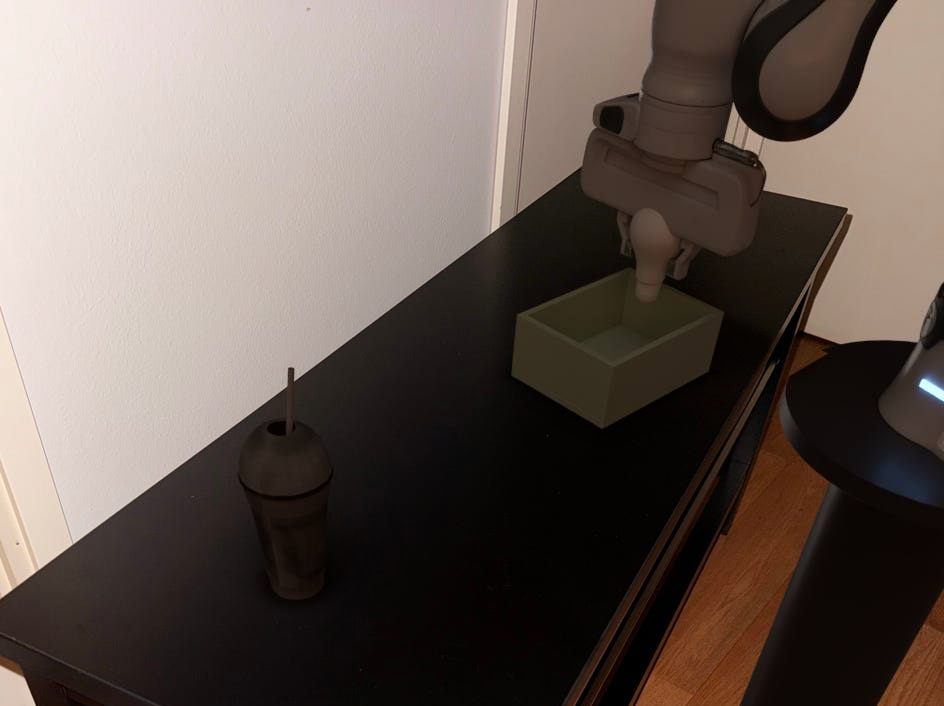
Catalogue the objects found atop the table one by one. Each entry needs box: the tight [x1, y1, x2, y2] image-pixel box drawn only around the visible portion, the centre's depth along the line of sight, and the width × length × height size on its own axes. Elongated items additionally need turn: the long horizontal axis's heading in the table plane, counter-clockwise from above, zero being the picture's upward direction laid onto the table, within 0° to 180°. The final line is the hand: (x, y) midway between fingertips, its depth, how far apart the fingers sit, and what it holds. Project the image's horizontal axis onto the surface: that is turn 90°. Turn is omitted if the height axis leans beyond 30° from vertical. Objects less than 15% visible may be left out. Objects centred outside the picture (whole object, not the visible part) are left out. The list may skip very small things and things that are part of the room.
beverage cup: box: [237, 366, 334, 601], centre depth 73 cm, size 7×7×20 cm
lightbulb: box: [630, 208, 683, 303], centre depth 100 cm, size 6×6×11 cm
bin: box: [511, 267, 725, 430], centre depth 104 cm, size 19×14×7 cm
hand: (652, 265), depth 101 cm, fingers closed on lightbulb, 5 cm apart
